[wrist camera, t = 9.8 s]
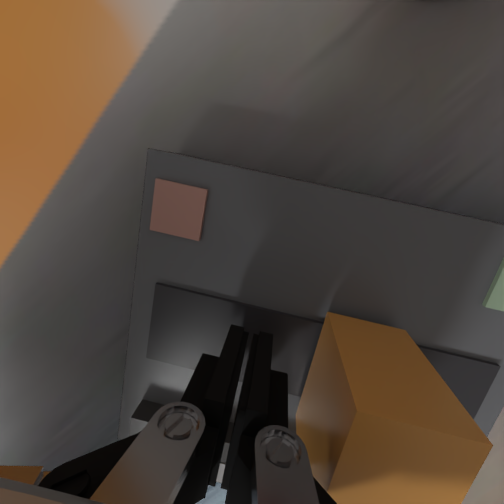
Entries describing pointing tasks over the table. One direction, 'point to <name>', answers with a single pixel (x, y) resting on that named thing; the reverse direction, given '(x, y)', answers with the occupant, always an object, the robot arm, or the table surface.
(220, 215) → the panel
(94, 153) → the table surface
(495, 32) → the table surface
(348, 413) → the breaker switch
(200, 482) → the robot arm
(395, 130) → the table surface
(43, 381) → the table surface
